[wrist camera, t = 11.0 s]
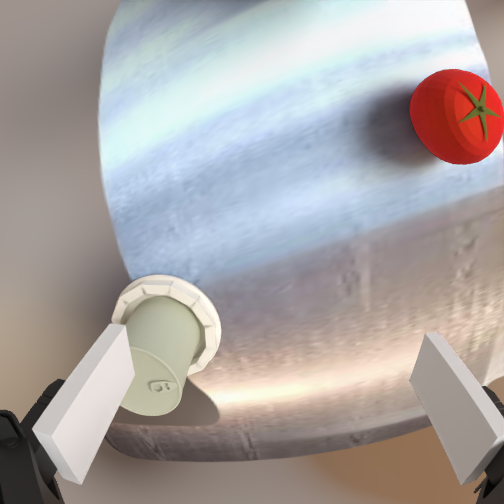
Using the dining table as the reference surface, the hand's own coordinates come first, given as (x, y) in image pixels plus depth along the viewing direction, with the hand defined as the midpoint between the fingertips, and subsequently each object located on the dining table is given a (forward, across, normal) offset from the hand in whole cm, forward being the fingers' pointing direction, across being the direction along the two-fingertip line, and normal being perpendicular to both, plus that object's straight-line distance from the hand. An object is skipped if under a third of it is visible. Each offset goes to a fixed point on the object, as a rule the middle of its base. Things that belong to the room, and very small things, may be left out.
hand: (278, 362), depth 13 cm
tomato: (+25, +20, +14) cm, 35 cm away
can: (+24, -12, -13) cm, 30 cm away
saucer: (+24, -13, -14) cm, 30 cm away
